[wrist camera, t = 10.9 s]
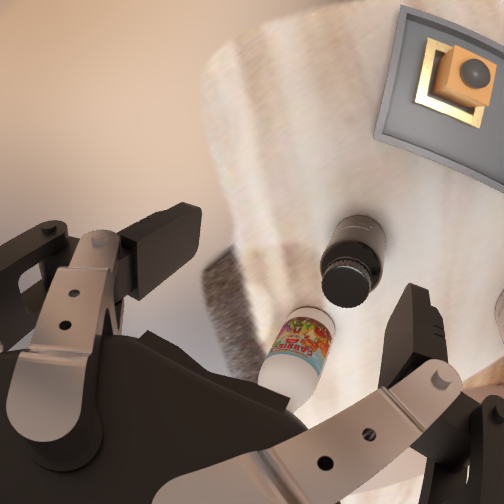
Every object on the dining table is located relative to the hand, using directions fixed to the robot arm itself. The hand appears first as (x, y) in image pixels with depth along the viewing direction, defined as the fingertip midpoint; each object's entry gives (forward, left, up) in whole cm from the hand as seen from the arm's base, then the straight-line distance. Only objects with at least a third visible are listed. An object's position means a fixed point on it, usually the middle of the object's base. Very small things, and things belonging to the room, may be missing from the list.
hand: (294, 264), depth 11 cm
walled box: (-10, -11, -28) cm, 32 cm away
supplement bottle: (-3, +10, -28) cm, 30 cm away
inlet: (-8, -12, -28) cm, 32 cm away
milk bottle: (-1, +26, -28) cm, 38 cm away
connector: (-8, -12, -27) cm, 31 cm away
